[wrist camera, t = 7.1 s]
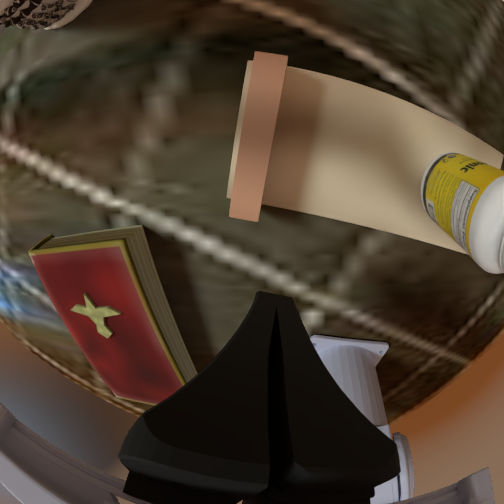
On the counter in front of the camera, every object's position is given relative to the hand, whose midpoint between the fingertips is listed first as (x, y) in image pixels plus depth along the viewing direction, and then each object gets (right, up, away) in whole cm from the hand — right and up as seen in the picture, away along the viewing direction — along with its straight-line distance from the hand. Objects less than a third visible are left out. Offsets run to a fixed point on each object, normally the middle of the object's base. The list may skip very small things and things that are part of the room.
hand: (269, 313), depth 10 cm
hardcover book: (-13, -4, +15) cm, 21 cm away
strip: (+8, +8, +5) cm, 13 cm away
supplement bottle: (+13, +7, +5) cm, 16 cm away
